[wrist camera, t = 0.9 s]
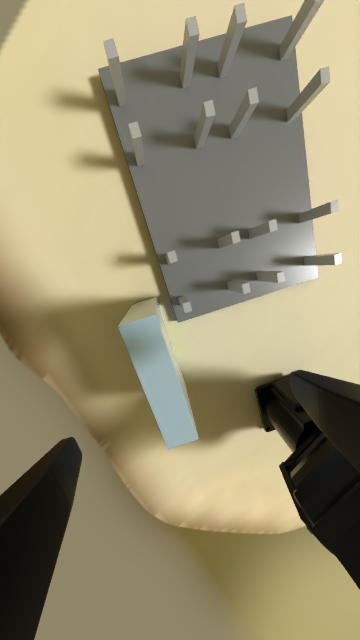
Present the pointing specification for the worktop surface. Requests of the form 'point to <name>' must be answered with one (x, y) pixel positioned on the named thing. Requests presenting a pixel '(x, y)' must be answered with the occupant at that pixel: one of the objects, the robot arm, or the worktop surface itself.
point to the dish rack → (222, 159)
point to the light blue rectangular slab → (159, 371)
